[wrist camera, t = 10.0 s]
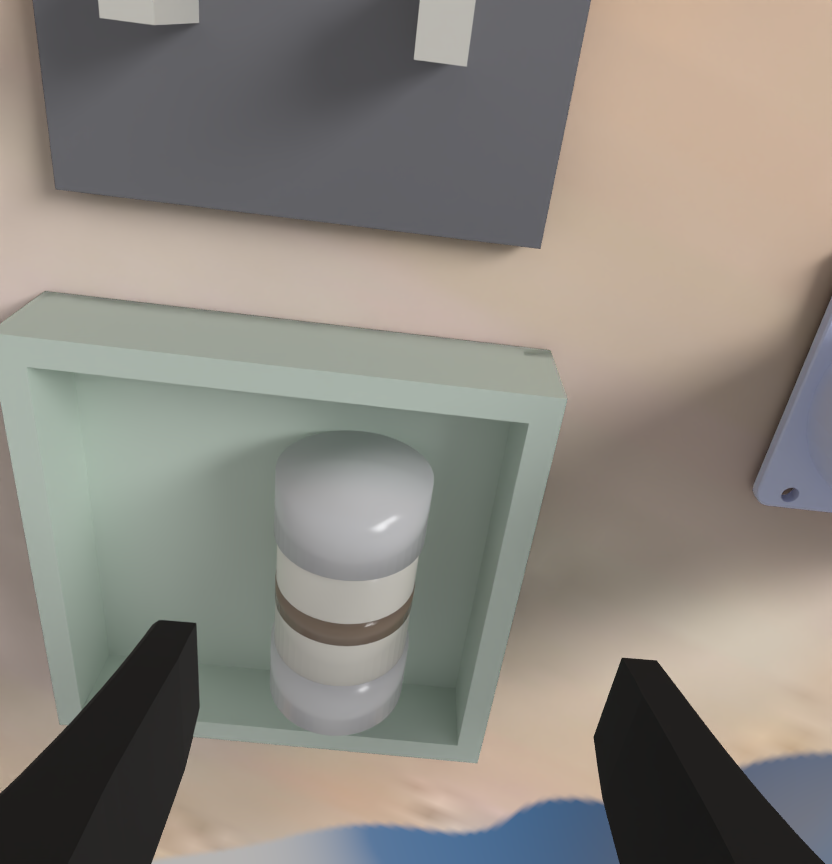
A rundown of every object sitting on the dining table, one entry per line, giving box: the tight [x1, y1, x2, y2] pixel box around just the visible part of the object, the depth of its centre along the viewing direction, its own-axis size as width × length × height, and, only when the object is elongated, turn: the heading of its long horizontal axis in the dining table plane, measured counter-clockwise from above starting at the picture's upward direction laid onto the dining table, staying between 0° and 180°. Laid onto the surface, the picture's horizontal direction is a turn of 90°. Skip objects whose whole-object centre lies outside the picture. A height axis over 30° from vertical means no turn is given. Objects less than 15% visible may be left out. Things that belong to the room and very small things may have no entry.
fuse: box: [270, 430, 434, 736], centre depth 22 cm, size 4×8×4 cm
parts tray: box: [0, 291, 567, 763], centre depth 23 cm, size 14×14×3 cm
